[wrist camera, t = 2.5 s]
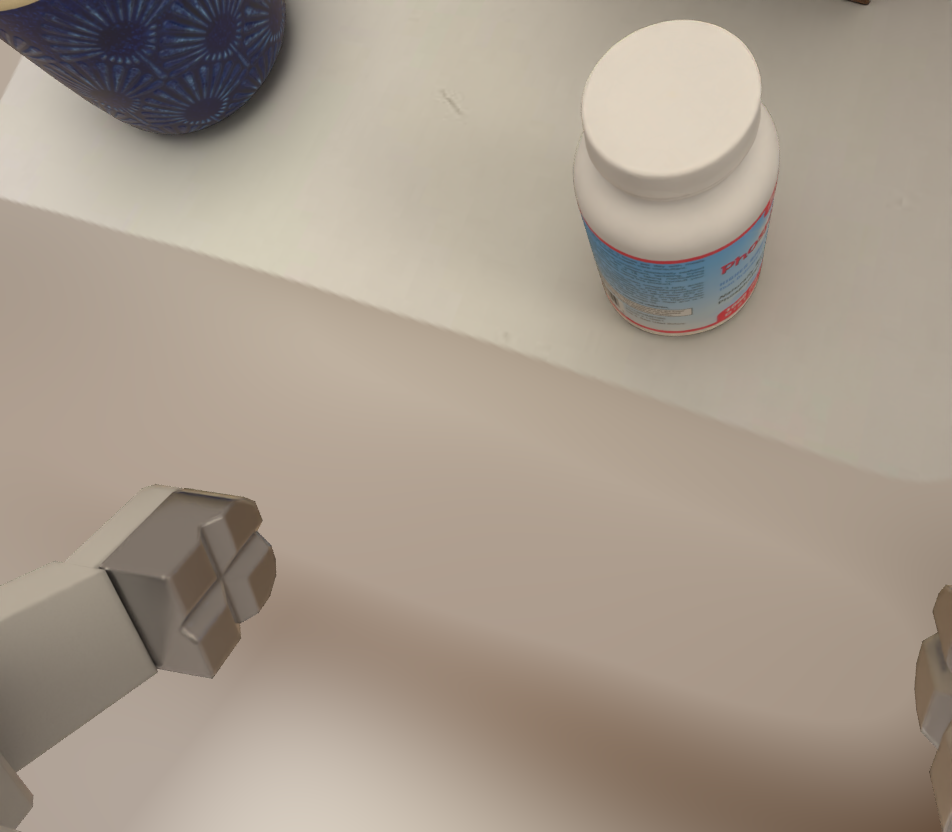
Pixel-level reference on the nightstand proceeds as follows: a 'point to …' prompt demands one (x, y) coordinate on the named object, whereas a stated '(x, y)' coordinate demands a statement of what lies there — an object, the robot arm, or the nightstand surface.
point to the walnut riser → (861, 1)
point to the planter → (152, 54)
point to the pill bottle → (676, 175)
